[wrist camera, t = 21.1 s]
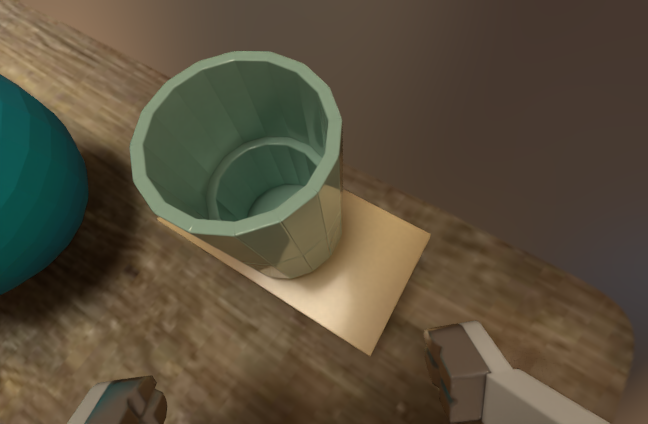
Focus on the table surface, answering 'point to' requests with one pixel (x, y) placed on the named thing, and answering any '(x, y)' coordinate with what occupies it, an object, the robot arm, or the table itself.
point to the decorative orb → (35, 186)
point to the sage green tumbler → (246, 160)
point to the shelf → (347, 273)
